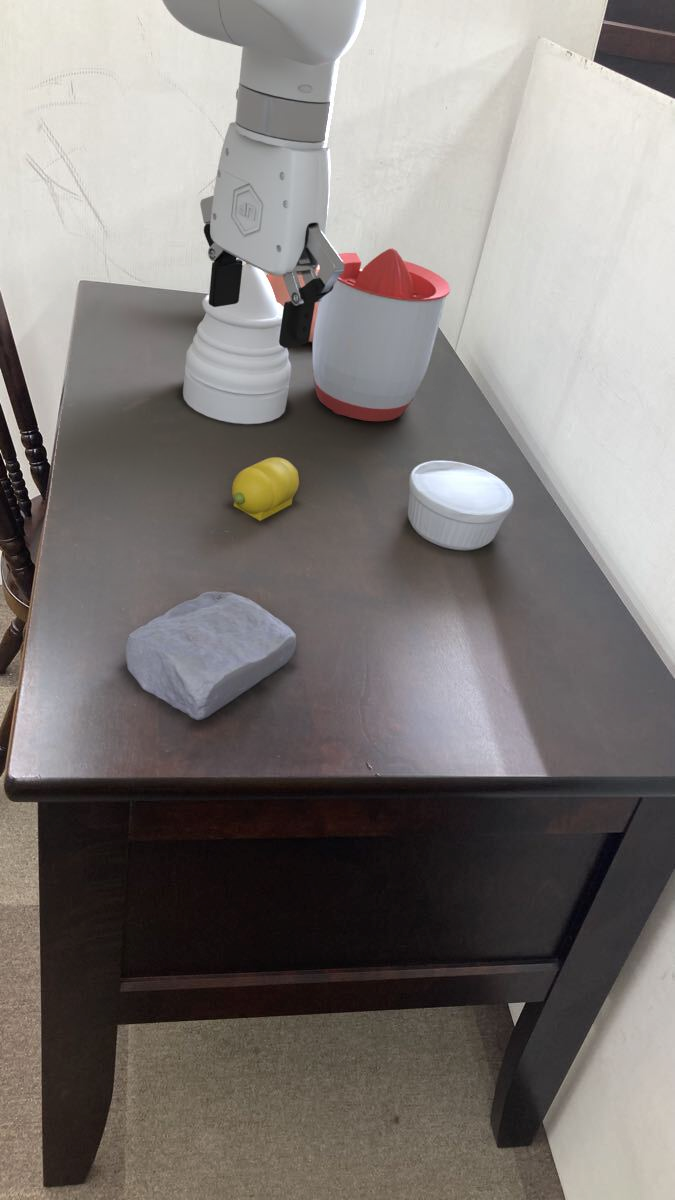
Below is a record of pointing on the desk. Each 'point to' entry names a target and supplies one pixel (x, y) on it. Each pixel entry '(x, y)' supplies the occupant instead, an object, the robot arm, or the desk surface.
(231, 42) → the robot arm
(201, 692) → the stone block
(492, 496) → the ramekin
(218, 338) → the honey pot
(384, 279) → the citrus juicer
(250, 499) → the lemon
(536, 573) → the desk surface
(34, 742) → the desk surface
